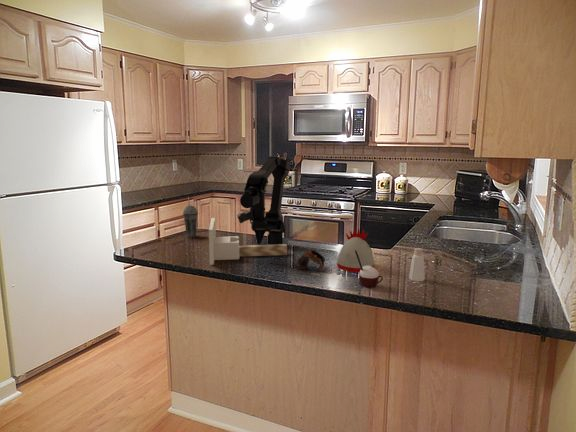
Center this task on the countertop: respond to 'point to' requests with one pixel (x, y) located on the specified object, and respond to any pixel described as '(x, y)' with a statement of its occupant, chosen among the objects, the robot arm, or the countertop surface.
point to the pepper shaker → (417, 266)
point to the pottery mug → (311, 254)
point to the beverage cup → (190, 220)
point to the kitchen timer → (348, 255)
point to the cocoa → (368, 275)
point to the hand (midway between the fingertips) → (258, 241)
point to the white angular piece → (222, 245)
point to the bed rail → (262, 250)
